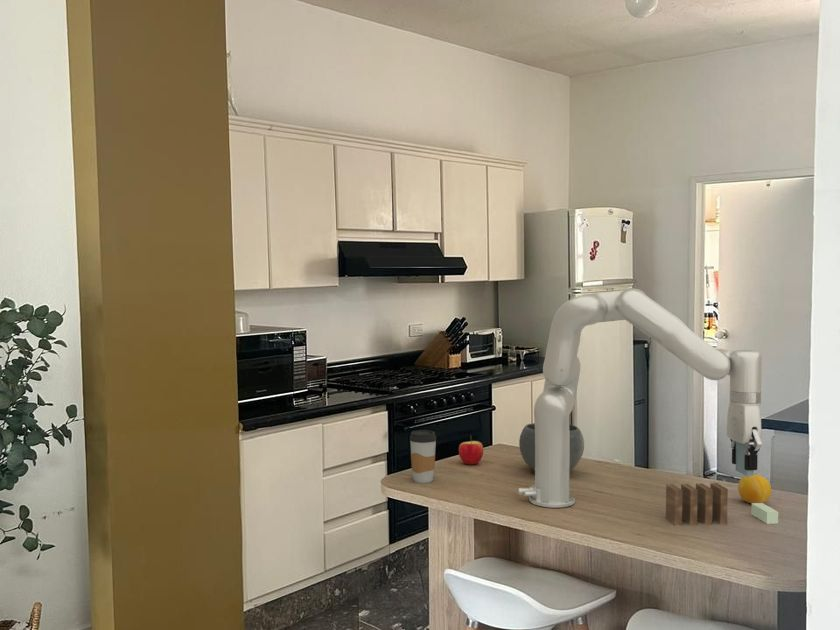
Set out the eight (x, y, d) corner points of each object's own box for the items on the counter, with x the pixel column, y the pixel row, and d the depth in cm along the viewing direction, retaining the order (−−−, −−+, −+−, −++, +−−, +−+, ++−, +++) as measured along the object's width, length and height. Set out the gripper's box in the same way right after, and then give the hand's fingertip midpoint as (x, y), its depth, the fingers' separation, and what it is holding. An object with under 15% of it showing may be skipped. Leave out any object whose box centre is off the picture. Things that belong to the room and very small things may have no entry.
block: (766, 523, 205) (767, 512, 205) (751, 514, 213) (751, 503, 213) (778, 523, 205) (778, 512, 205) (762, 514, 213) (762, 503, 213)
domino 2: (690, 524, 204) (690, 490, 204) (680, 517, 210) (681, 483, 210) (696, 524, 204) (697, 490, 204) (687, 517, 210) (687, 483, 210)
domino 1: (674, 525, 204) (675, 490, 203) (665, 518, 210) (666, 484, 209) (681, 525, 204) (682, 490, 203) (672, 517, 210) (672, 484, 209)
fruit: (731, 500, 226) (731, 472, 225) (752, 497, 229) (753, 469, 228) (755, 509, 218) (756, 480, 217) (777, 505, 221) (778, 477, 220)
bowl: (589, 481, 247) (590, 433, 246) (523, 480, 247) (523, 432, 246) (577, 465, 267) (578, 420, 266) (516, 465, 267) (516, 420, 266)
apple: (457, 466, 265) (457, 436, 265) (460, 460, 274) (460, 431, 273) (482, 467, 264) (482, 437, 263) (484, 461, 272) (484, 432, 272)
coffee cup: (441, 479, 249) (441, 431, 248) (427, 485, 242) (427, 436, 241) (418, 475, 253) (418, 428, 252) (404, 481, 246) (404, 433, 245)
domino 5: (746, 476, 205) (747, 441, 204) (735, 470, 211) (735, 436, 210) (753, 475, 205) (753, 441, 204) (742, 470, 211) (742, 436, 210)
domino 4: (720, 524, 205) (721, 489, 204) (709, 516, 211) (710, 483, 210) (727, 523, 205) (727, 489, 204) (716, 516, 211) (717, 483, 210)
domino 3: (705, 524, 204) (705, 489, 204) (695, 517, 210) (695, 483, 210) (712, 524, 205) (712, 489, 204) (701, 517, 211) (702, 483, 210)
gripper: (716, 393, 215) (715, 459, 216) (747, 403, 198) (746, 475, 199) (742, 392, 216) (742, 458, 216) (776, 403, 198) (775, 474, 199)
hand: (744, 466), depth 208 cm, fingers closed on domino 5, 6 cm apart
